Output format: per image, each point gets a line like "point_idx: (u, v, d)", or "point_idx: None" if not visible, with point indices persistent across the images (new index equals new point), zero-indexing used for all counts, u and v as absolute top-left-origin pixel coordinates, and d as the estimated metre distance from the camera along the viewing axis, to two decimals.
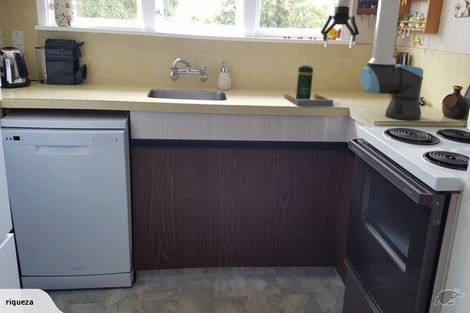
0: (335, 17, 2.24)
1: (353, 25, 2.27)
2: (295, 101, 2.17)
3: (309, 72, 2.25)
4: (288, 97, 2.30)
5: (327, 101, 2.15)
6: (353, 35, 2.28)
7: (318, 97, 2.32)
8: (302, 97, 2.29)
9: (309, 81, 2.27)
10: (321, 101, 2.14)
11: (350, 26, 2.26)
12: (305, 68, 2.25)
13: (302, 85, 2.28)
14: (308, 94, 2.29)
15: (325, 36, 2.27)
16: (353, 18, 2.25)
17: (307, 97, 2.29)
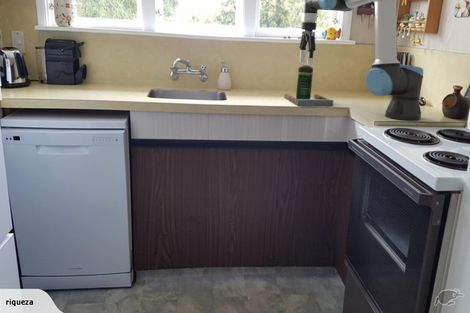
0: (304, 33, 2.27)
1: None
2: (295, 101, 2.17)
3: (309, 72, 2.25)
4: (288, 97, 2.30)
5: (327, 101, 2.15)
6: None
7: (318, 97, 2.32)
8: (302, 97, 2.29)
9: (309, 81, 2.27)
10: (321, 101, 2.14)
11: (308, 42, 2.20)
12: (305, 68, 2.25)
13: (302, 85, 2.28)
14: (308, 94, 2.29)
15: None
16: (309, 34, 2.18)
17: (307, 97, 2.29)
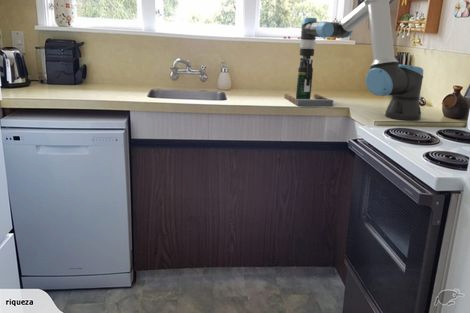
0: None
1: None
2: (295, 101, 2.17)
3: None
4: (288, 97, 2.30)
5: (327, 101, 2.15)
6: None
7: (318, 97, 2.32)
8: (302, 97, 2.29)
9: None
10: (321, 101, 2.14)
11: None
12: (305, 68, 2.25)
13: (302, 85, 2.28)
14: (308, 94, 2.29)
15: None
16: (307, 61, 2.22)
17: (307, 97, 2.29)
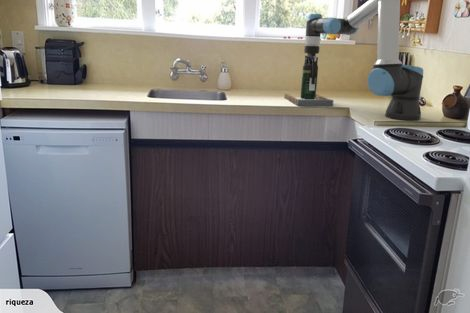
0: (307, 56, 2.23)
1: None
2: (295, 101, 2.17)
3: None
4: (288, 97, 2.30)
5: (327, 101, 2.15)
6: None
7: (318, 97, 2.32)
8: (307, 96, 2.21)
9: None
10: (321, 101, 2.14)
11: None
12: (310, 66, 2.17)
13: (307, 83, 2.20)
14: (313, 93, 2.21)
15: None
16: (312, 59, 2.15)
17: (312, 96, 2.21)
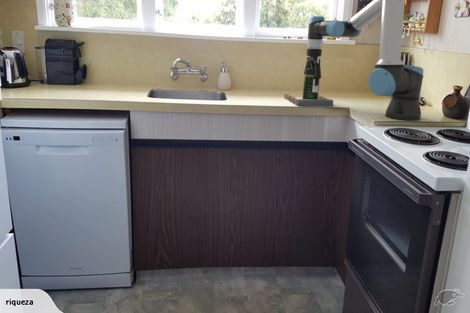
0: (309, 59, 2.20)
1: None
2: (295, 101, 2.17)
3: None
4: (288, 97, 2.30)
5: (327, 101, 2.15)
6: (315, 79, 2.12)
7: (318, 97, 2.32)
8: None
9: None
10: (321, 101, 2.14)
11: (313, 69, 2.13)
12: (312, 70, 2.14)
13: (309, 88, 2.17)
14: (315, 97, 2.18)
15: None
16: (315, 61, 2.11)
17: None
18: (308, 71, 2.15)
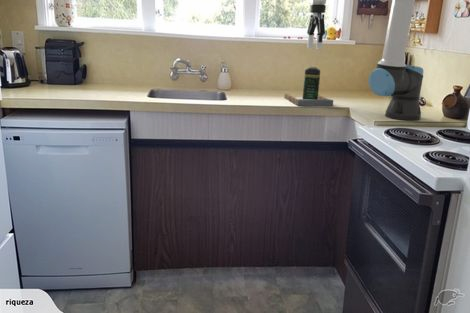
0: (312, 16, 2.14)
1: None
2: (295, 101, 2.17)
3: (316, 74, 2.14)
4: (288, 97, 2.30)
5: (327, 101, 2.15)
6: None
7: (318, 97, 2.32)
8: None
9: (316, 84, 2.17)
10: (321, 101, 2.14)
11: (317, 25, 2.07)
12: (312, 70, 2.14)
13: (309, 88, 2.17)
14: (315, 97, 2.18)
15: None
16: (318, 16, 2.05)
17: None
18: (308, 71, 2.15)
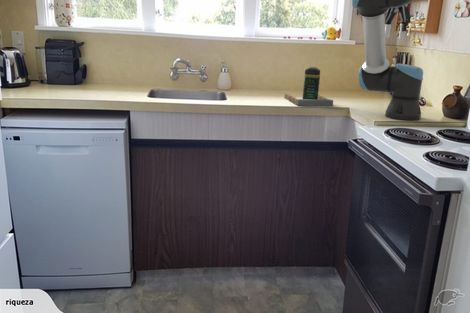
0: None
1: None
2: (295, 101, 2.17)
3: (316, 74, 2.14)
4: (288, 97, 2.30)
5: (327, 101, 2.15)
6: (403, 23, 2.00)
7: (318, 97, 2.32)
8: None
9: (316, 84, 2.17)
10: (321, 101, 2.14)
11: (400, 13, 2.01)
12: (312, 70, 2.14)
13: (309, 88, 2.17)
14: (315, 97, 2.18)
15: None
16: None
17: None
18: (308, 71, 2.15)
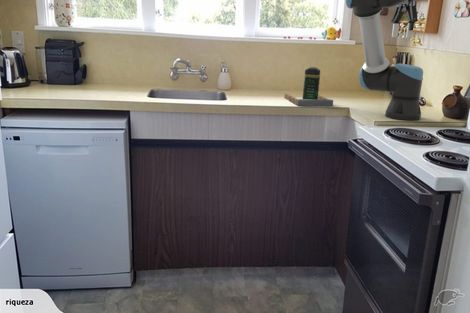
0: (400, 4, 2.07)
1: None
2: (295, 101, 2.17)
3: (316, 74, 2.14)
4: (288, 97, 2.30)
5: (327, 101, 2.15)
6: (410, 23, 1.99)
7: (318, 97, 2.32)
8: None
9: (316, 84, 2.17)
10: (321, 101, 2.14)
11: (408, 13, 2.00)
12: (312, 70, 2.14)
13: (309, 88, 2.17)
14: (315, 97, 2.18)
15: None
16: (410, 3, 1.98)
17: None
18: (308, 71, 2.15)
